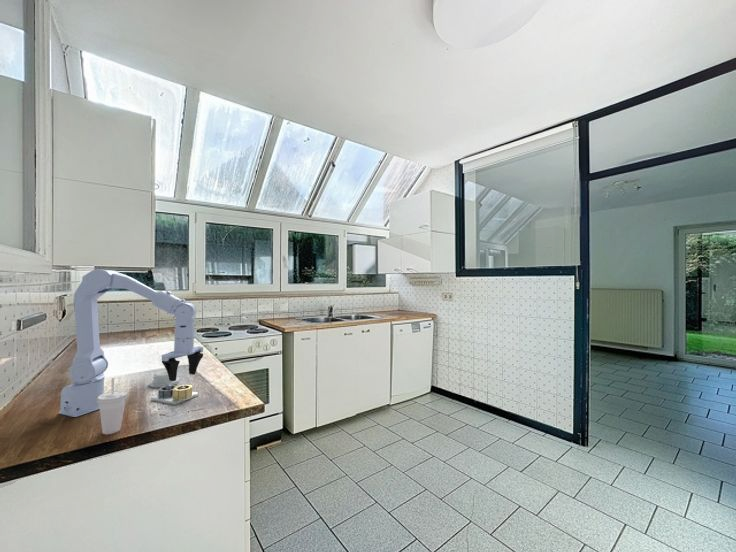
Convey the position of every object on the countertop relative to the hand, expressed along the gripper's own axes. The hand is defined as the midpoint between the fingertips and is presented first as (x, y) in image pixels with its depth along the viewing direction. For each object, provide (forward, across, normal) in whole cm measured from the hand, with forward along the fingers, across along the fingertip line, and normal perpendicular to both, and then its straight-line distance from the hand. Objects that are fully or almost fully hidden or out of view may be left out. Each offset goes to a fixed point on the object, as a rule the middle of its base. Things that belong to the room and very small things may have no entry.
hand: (182, 377), depth 104 cm
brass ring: (+6, 0, 0) cm, 7 cm away
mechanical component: (+8, +10, +20) cm, 24 cm away
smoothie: (+8, -23, -2) cm, 24 cm away
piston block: (+8, 0, +3) cm, 8 cm away
